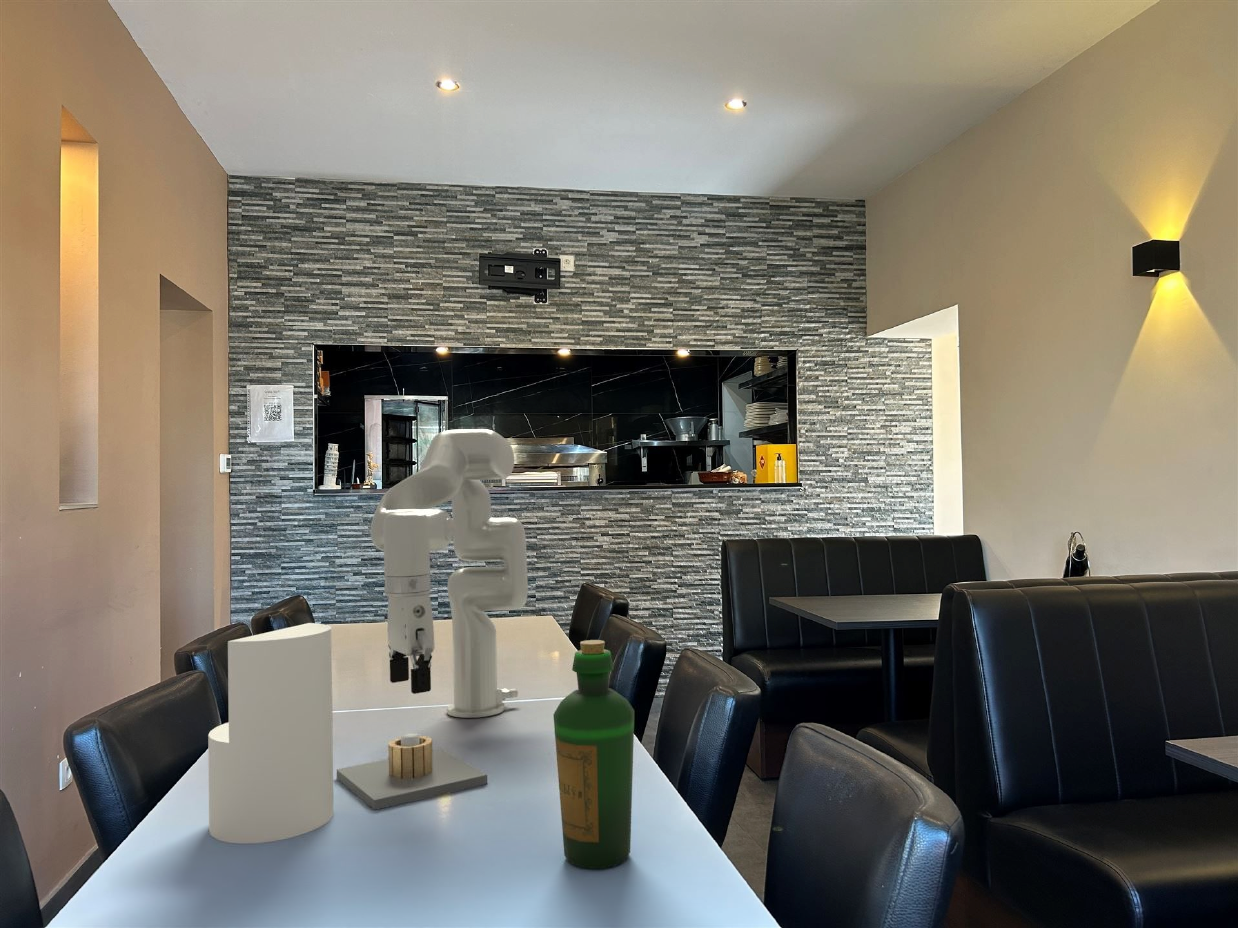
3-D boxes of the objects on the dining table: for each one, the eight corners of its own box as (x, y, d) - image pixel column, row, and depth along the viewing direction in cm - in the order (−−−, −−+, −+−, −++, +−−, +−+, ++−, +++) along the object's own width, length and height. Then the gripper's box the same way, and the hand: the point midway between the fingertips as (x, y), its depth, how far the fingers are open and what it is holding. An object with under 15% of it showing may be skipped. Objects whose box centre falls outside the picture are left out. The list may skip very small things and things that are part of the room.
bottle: (556, 843, 119) (551, 636, 120) (633, 838, 120) (628, 633, 121) (557, 877, 109) (552, 650, 110) (642, 872, 110) (636, 647, 111)
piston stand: (441, 756, 160) (440, 715, 161) (487, 783, 145) (486, 737, 145) (336, 778, 149) (336, 733, 150) (374, 809, 134) (373, 760, 134)
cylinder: (357, 805, 136) (354, 624, 137) (280, 849, 120) (278, 643, 121) (267, 795, 142) (265, 621, 143) (181, 835, 125) (179, 639, 126)
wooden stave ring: (422, 762, 152) (422, 733, 152) (438, 772, 146) (438, 742, 146) (383, 770, 148) (382, 740, 148) (398, 781, 142) (397, 750, 142)
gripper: (449, 587, 143) (451, 692, 143) (410, 578, 157) (412, 674, 157) (405, 592, 139) (407, 700, 139) (368, 582, 153) (371, 680, 153)
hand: (410, 686), depth 148 cm, fingers open, 9 cm apart
